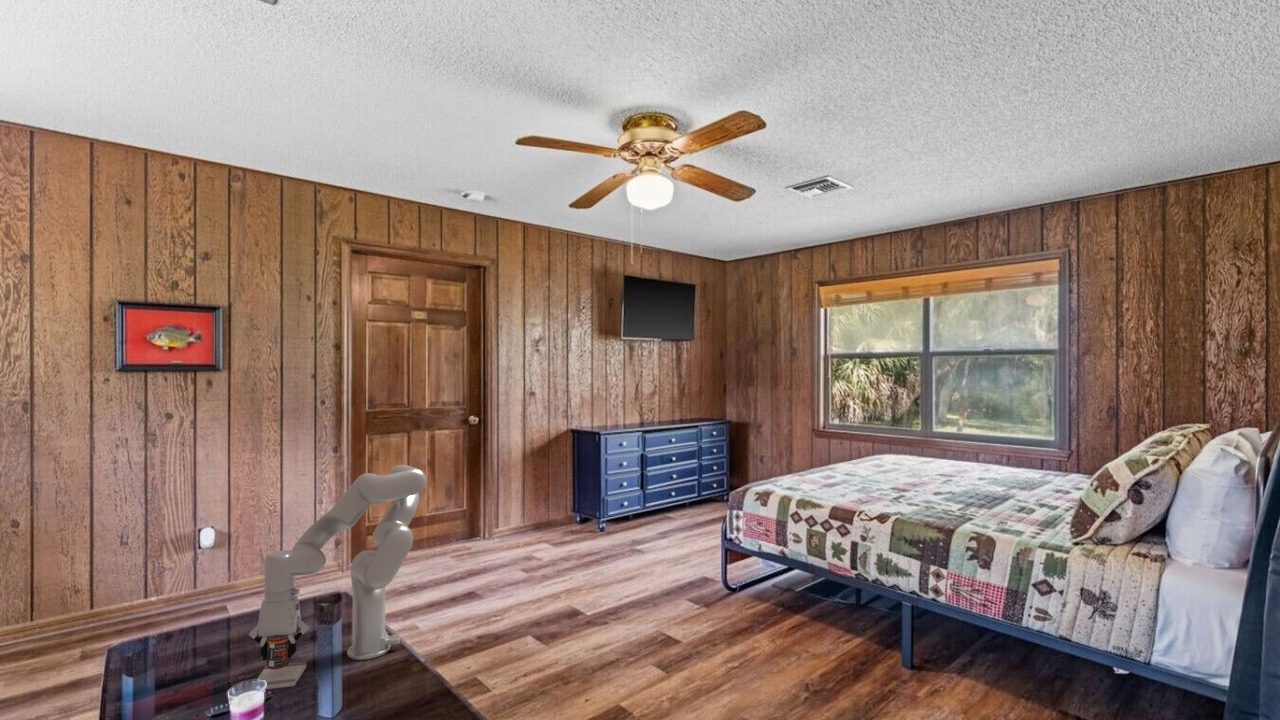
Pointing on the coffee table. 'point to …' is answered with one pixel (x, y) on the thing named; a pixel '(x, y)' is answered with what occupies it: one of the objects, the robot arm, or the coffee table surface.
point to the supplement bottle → (278, 651)
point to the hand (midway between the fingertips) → (278, 656)
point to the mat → (283, 675)
